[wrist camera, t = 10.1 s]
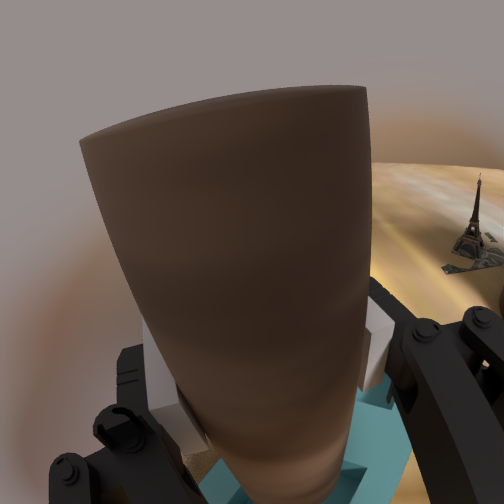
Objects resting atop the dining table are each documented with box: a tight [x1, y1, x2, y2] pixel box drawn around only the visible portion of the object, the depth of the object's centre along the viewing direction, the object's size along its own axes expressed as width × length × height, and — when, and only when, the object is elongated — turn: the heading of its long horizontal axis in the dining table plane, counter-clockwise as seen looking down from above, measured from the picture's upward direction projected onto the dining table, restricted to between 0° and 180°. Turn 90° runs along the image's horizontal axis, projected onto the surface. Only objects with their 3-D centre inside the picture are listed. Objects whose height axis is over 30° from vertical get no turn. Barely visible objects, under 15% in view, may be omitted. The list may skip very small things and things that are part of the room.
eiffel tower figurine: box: [441, 173, 504, 274], centre depth 39 cm, size 15×10×13 cm
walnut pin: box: [79, 85, 372, 504], centre depth 9 cm, size 5×5×16 cm
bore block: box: [198, 373, 412, 504], centre depth 21 cm, size 24×12×5 cm, turn 147°
